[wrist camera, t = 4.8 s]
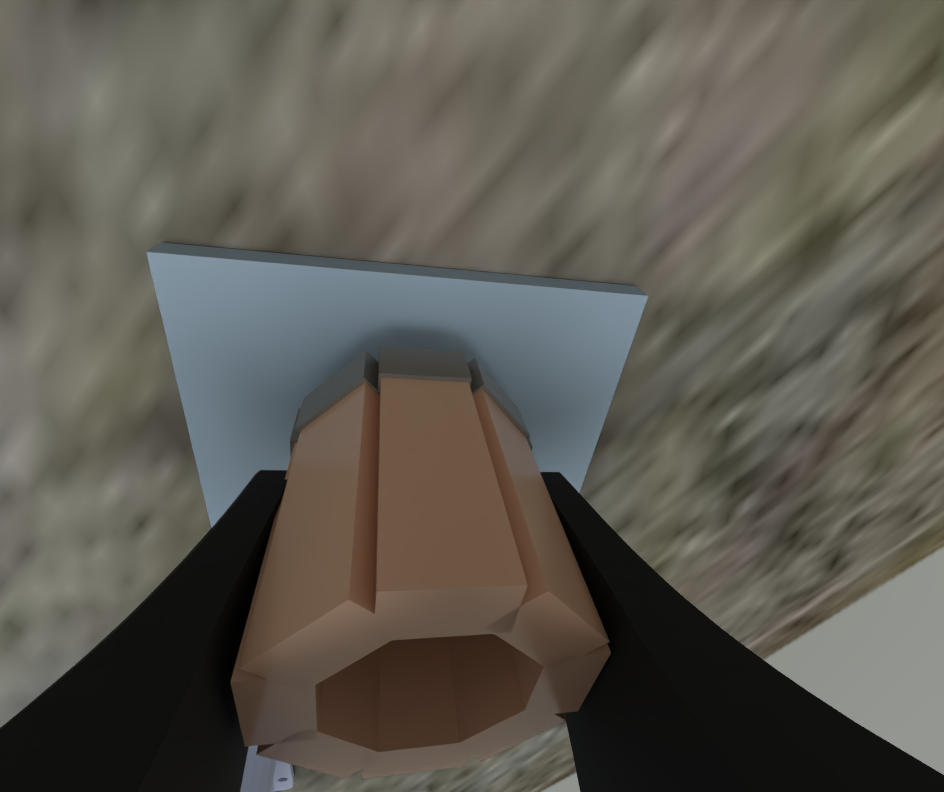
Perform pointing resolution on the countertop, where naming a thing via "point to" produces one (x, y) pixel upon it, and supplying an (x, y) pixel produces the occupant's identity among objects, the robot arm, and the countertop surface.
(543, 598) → the sleeve
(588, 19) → the countertop surface
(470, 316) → the pin board
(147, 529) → the countertop surface
